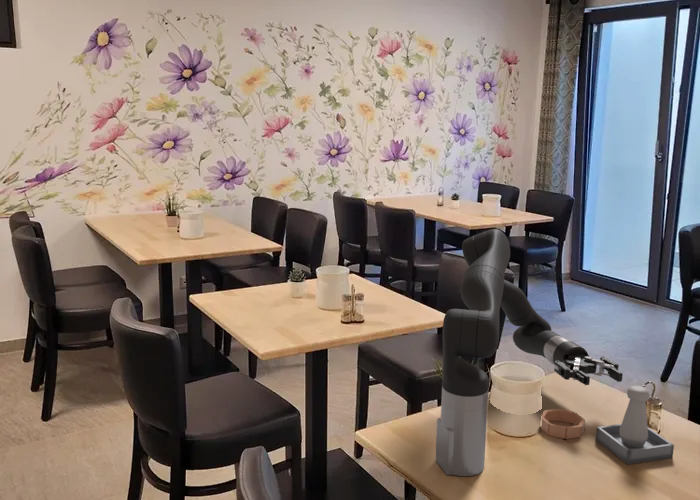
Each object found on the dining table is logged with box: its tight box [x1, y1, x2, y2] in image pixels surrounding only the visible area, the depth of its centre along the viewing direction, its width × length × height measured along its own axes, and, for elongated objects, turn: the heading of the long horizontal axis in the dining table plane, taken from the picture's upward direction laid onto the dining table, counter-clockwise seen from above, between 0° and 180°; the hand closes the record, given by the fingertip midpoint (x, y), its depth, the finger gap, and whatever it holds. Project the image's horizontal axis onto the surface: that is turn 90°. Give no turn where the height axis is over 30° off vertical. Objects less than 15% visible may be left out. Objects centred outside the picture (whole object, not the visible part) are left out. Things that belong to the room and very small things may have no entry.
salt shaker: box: [619, 385, 650, 449], centre depth 146 cm, size 6×6×13 cm
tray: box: [595, 423, 675, 465], centre depth 147 cm, size 11×11×3 cm
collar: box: [540, 408, 586, 440], centre depth 156 cm, size 9×9×2 cm
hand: (604, 379), depth 155 cm, fingers open, 8 cm apart
